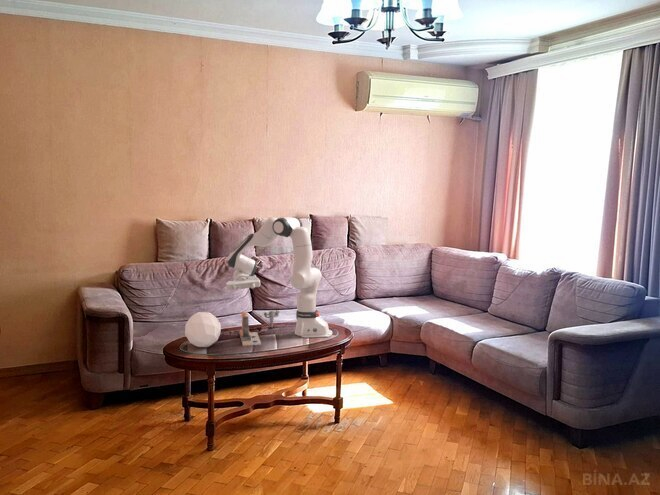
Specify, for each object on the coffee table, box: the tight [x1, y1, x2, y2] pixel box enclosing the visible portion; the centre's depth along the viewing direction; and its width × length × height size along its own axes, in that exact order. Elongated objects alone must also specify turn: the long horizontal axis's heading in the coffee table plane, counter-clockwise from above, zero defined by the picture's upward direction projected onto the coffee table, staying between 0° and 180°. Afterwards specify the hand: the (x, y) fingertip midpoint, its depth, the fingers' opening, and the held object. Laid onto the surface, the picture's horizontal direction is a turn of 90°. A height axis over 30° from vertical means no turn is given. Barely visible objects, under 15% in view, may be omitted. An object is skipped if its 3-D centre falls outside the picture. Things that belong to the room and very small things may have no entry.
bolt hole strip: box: [249, 331, 262, 346], centre depth 335 cm, size 23×6×1 cm, turn 13°
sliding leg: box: [239, 311, 248, 337], centre depth 335 cm, size 5×5×13 cm
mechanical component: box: [263, 309, 280, 328], centre depth 363 cm, size 3×10×10 cm, turn 127°
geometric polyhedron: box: [184, 311, 222, 348], centre depth 321 cm, size 19×20×20 cm
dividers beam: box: [239, 315, 251, 347], centre depth 333 cm, size 23×5×16 cm, turn 13°
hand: (244, 288), depth 344 cm, fingers open, 8 cm apart
